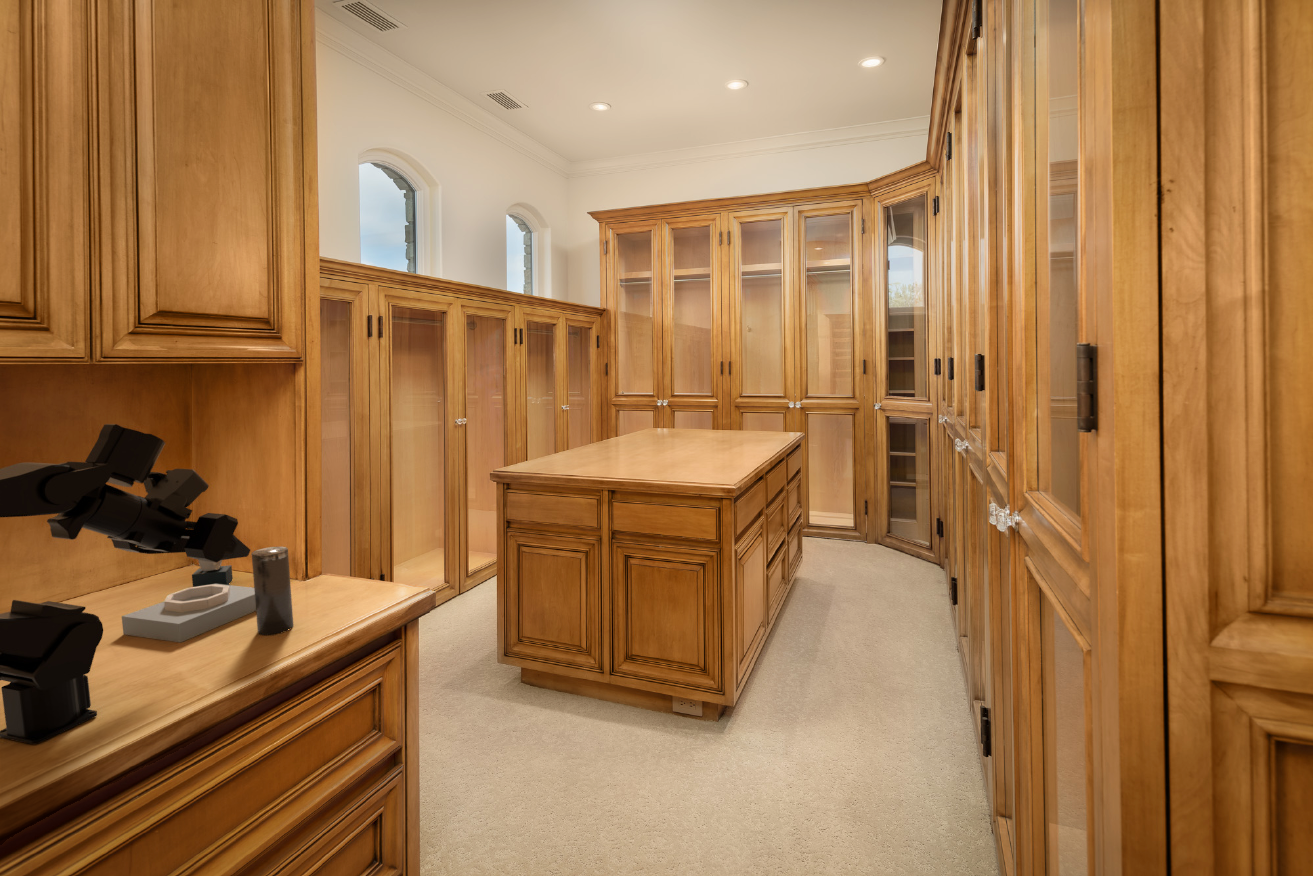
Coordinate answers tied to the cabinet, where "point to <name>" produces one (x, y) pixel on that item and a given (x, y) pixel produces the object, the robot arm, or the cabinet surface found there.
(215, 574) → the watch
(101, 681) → the cabinet surface
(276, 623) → the lens
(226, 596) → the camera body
